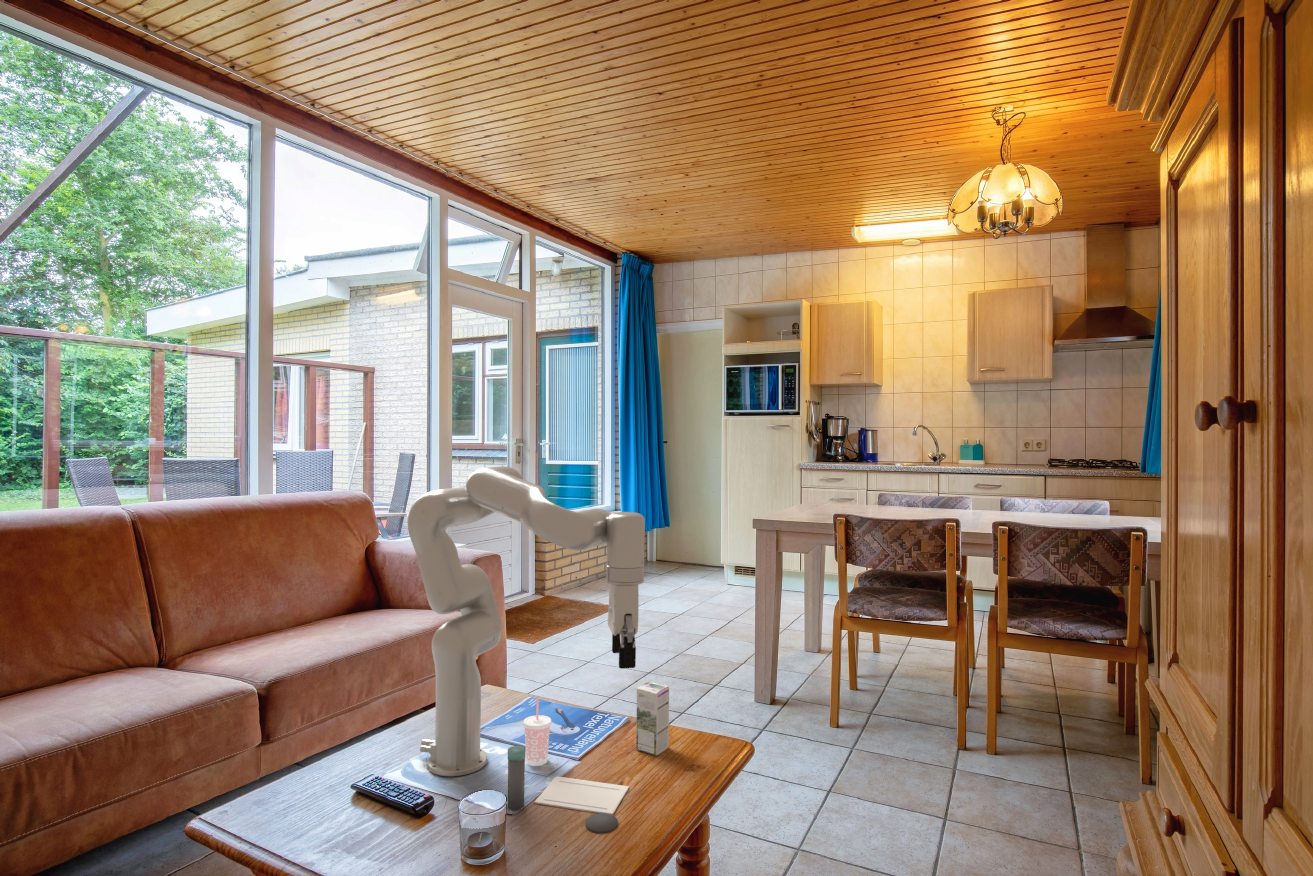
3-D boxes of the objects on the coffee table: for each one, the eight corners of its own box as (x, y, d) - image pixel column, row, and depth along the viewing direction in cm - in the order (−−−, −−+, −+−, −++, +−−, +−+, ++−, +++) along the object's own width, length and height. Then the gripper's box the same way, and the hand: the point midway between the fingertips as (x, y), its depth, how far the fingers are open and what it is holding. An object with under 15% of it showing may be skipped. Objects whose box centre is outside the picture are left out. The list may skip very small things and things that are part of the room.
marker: (503, 809, 137) (504, 752, 137) (511, 800, 140) (512, 745, 140) (520, 812, 136) (520, 754, 136) (527, 803, 140) (528, 747, 140)
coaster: (580, 830, 130) (580, 828, 130) (591, 813, 136) (591, 811, 136) (612, 835, 129) (612, 833, 129) (621, 818, 135) (621, 816, 135)
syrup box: (669, 747, 166) (670, 685, 166) (655, 757, 161) (656, 692, 161) (649, 741, 169) (649, 680, 169) (634, 750, 164) (635, 687, 164)
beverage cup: (517, 765, 156) (518, 701, 156) (530, 753, 161) (531, 691, 161) (543, 769, 154) (544, 704, 154) (555, 757, 160) (556, 694, 160)
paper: (534, 803, 139) (534, 801, 139) (556, 777, 150) (556, 776, 150) (612, 815, 136) (612, 813, 136) (629, 788, 146) (629, 786, 146)
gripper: (601, 567, 151) (599, 648, 151) (612, 583, 134) (610, 675, 134) (636, 566, 152) (634, 646, 152) (651, 583, 135) (649, 673, 135)
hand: (623, 660), depth 143 cm, fingers open, 9 cm apart
